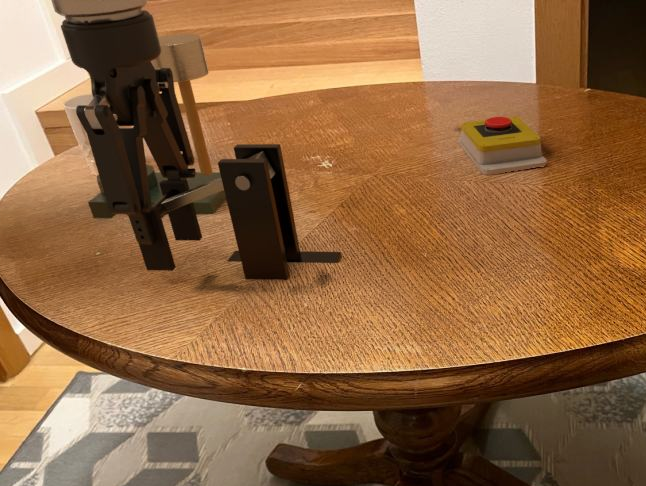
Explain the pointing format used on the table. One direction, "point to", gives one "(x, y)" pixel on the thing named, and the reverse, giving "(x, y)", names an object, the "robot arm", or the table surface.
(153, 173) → the lamp base
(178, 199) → the lever
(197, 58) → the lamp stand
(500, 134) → the emergency button
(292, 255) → the brown bracket stand
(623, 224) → the table surface
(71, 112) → the white cup
